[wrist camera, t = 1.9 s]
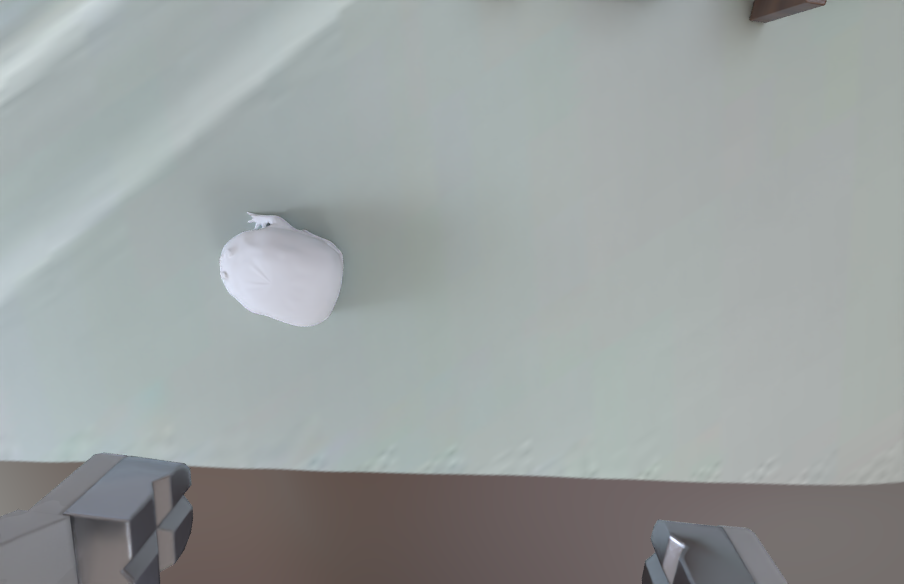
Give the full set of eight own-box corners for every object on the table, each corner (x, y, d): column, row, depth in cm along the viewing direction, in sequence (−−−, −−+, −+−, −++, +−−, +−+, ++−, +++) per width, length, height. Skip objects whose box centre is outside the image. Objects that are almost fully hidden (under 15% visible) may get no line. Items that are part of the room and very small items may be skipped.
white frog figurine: (222, 292, 40) (197, 310, 36) (243, 201, 38) (219, 211, 34) (332, 328, 40) (317, 350, 36) (358, 241, 38) (346, 255, 34)
